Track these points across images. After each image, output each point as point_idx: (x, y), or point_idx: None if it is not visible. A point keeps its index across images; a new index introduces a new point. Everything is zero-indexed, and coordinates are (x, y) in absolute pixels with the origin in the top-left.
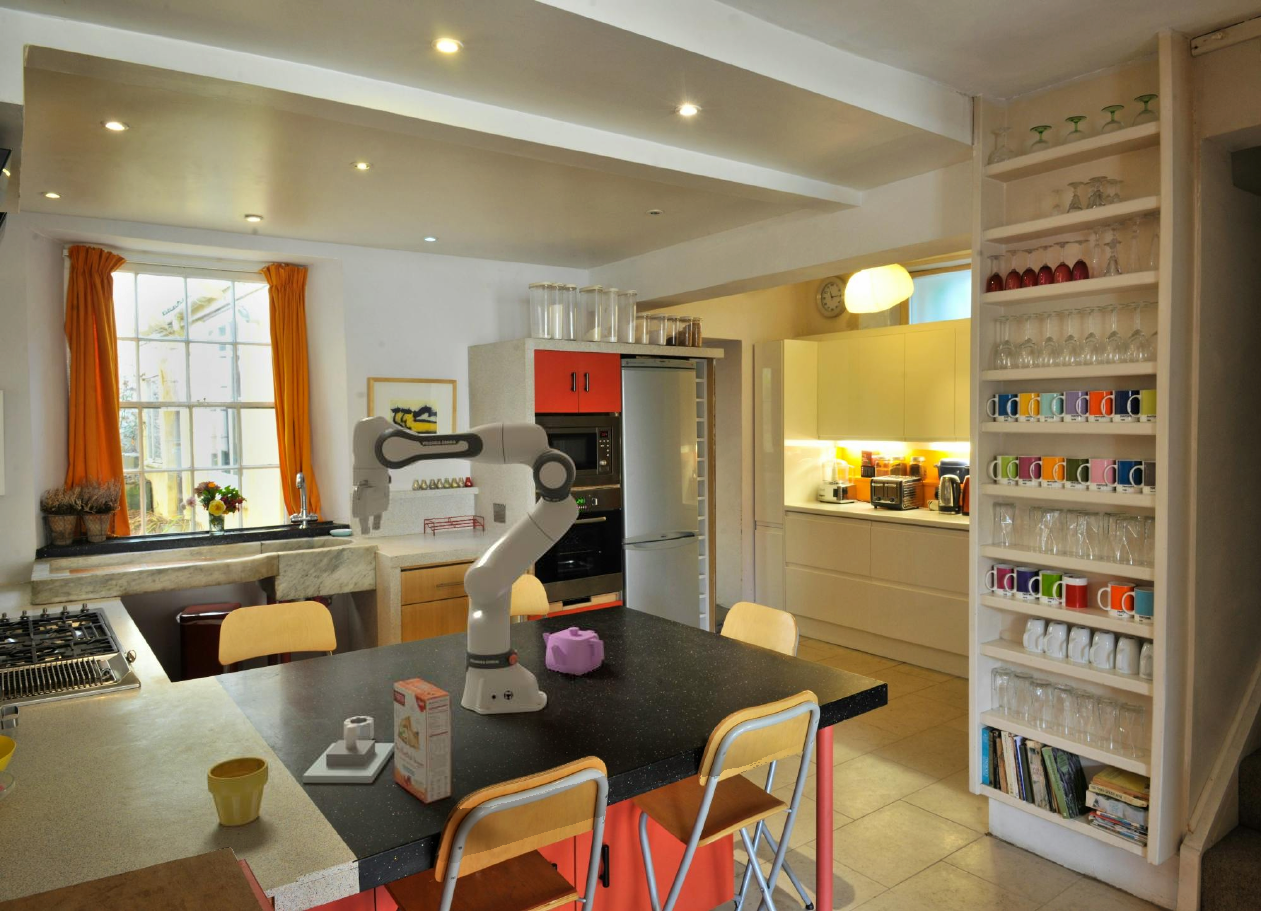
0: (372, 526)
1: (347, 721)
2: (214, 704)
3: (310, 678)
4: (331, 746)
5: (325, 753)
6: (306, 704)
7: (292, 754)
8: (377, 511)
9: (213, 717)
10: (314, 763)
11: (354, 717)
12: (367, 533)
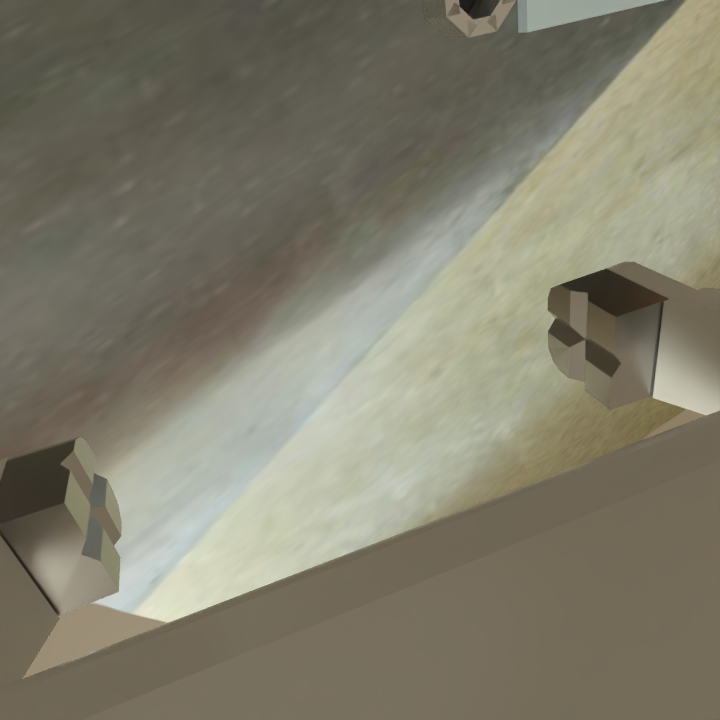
0: (110, 551)
1: (488, 23)
2: (301, 477)
3: (32, 435)
4: (548, 21)
5: (588, 11)
6: (242, 299)
7: (547, 116)
8: (544, 528)
9: (372, 421)
10: (639, 4)
11: (456, 20)
12: (631, 266)
